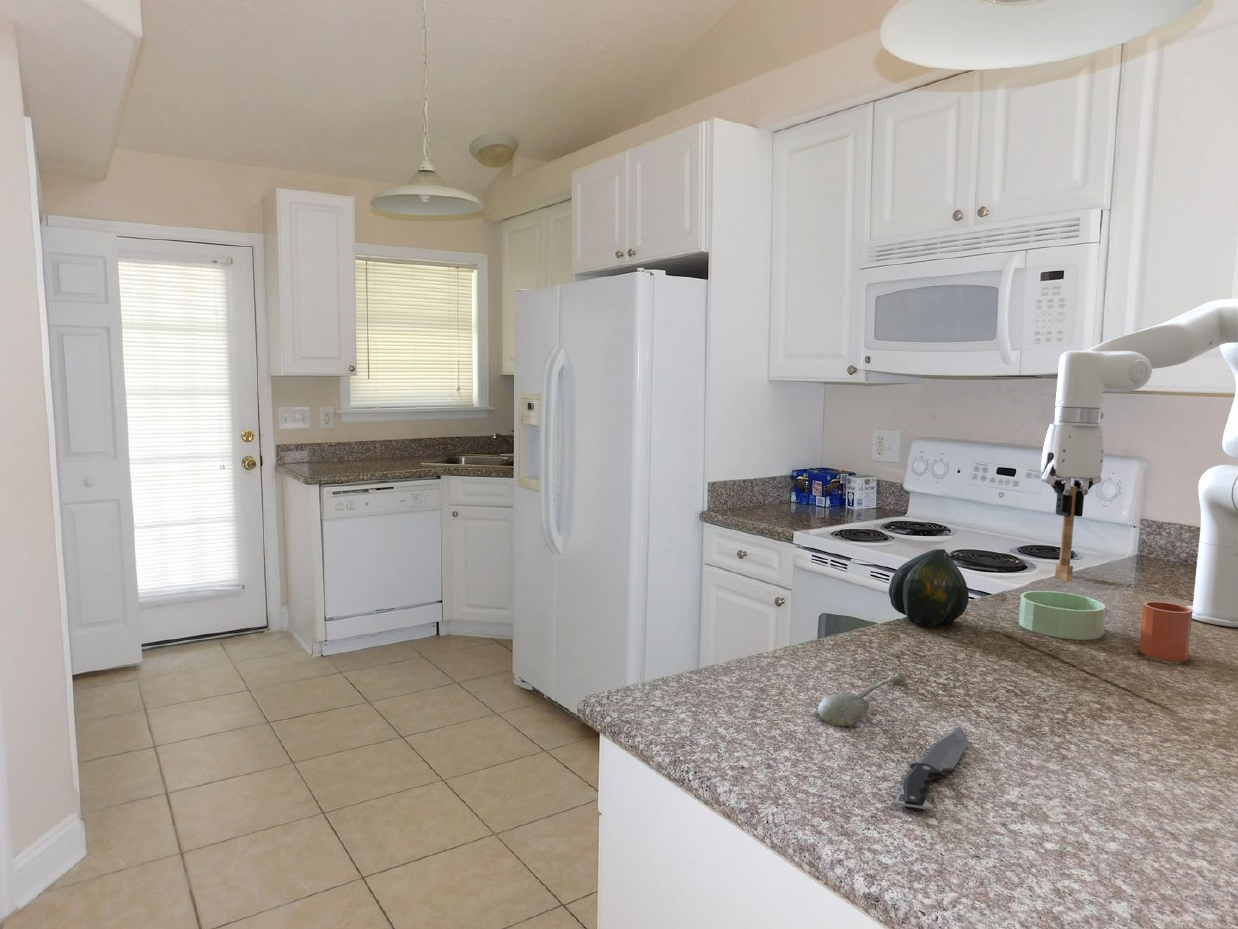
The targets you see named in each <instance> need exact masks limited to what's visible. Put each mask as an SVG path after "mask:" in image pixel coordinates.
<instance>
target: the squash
mask: <svg viewBox="0 0 1238 929" xmlns="http://www.w3.org/2000/svg"><path fill="white" fill-rule="evenodd" d="M888 596H889V599H890V605H891V606H892V607H893V609H894V610H895V611H897V612H898V613H899V614H902V615H904V616H906V618H907V619H908V621H909V622H910V623H912V624H913V625H915V626H920V625H923V624H924V623H925V624H926V625H928V626H937V625H939V624H941V623H944V624H947V623H952V622H954V621H955V620H957V619H958V618H960V617H961V616H962V615H963V614H964V613H965V611H966V609H967V607H968V604H969V600H970V594H969V588H968V586H967V582H966V579H965V577H964V575H963V574H962V571H961V570H960V568H958V566H957V565H956V563H955V562H954V560H953V559H952V558H951V556H950V554H949V553H948V552H947V551H946V549H945V548H937V549H931V550H929V551H926V552H924V553H921V554H919V555H918V556H915V557H914V558H911V559H910V560H908V561H906V562H904V563H903V564H902V565H901V566H899V567H898V568H896V570H895V572H894V573H893V575H892V577H891V580H890V583H889V587H888Z"/></svg>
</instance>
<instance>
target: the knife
mask: <svg viewBox="0 0 1238 929" xmlns="http://www.w3.org/2000/svg"><path fill="white" fill-rule="evenodd" d="M967 746H968V738H967V735H966V733H965V731H964V730H963V728H962V727H961V725H959V726H957V727H955V728H954V729H952V730H951V731H950V732H948V733H947V734H945V735H944V736H942V737H940V738H939V739H937V740H936V741H935V742H933V743H932V745H930V747H929V748H928V749H927V750H926V751H925V753H924V754H923V756H921V758H919V759H918V761H917V762H912V763H911V764H910V765H909V767H910V769H911V771H910V772H909V773H908V775H907V776H906V778H904V782H903V786H902V790H900V791H899V792H898V793H897V795H896V797H895V799H894V806H900V807H904V808H905V810H911V811H919V810H921V809H923V810H930V811H932V810H933V809H934V806H935V805H933V804H931V803H930V802H928V799H927V797H926V795H927V794H929V793H930V789H929V788H928V787H930V786H931V785H932V784H933V783H932V781H944V780H948V779H949V778H948V775H947V773H945V772H944V771H953V769H954V767H955V766H956V765H957V763H958V761H959V760H960V758H961V756H962V755H963V753H964V752H965V750H966V748H967ZM901 797H903V800H902V801H901V800H900V799H901Z"/></svg>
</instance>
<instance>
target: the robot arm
mask: <svg viewBox="0 0 1238 929" xmlns="http://www.w3.org/2000/svg"><path fill="white" fill-rule="evenodd" d="M1218 347H1219V348H1220V349H1219V350H1220V353H1221V355H1222V357H1223V360H1224V361H1225V362H1226V363H1227V365H1228V366H1229V368H1230V370H1231V372H1232V375H1233V377H1234V381H1235V394H1234V397H1233V401H1232V404H1231V408H1230V411H1229V415H1228V418H1227V422H1226V424H1225V427H1224V431H1223V435H1222V440H1221V445H1222V447H1221V448H1222V450H1223V452H1224V453H1225V454H1226V455H1228V456H1229V457H1232V458H1234V459H1238V297H1235V298H1223V299H1222V298H1221V299H1215V300H1211V301H1208V302H1205V303H1203V304H1201V305H1199V306H1197V307H1195V308H1194V307H1193V309H1190V310H1188V311H1186V312H1184V313H1182V314H1180V315H1178V316H1175V317H1174V318H1171V319H1169V320H1166V321H1164V322H1162V323H1160V324H1156V325H1153V326H1150V327H1146V328H1143V329H1140V330H1137V331H1134V332H1131V333H1128V334H1124V335H1120V336H1118V337H1115V338H1111V339H1109V340H1105V341H1102V342H1101V343H1098V344H1096V345H1093V346H1092V347H1089V348H1088V349H1086V350H1083V349H1082V350H1081V349H1079V350H1078V349H1077V350H1076V349H1075V350H1067V351H1064V352H1062V353H1061V354H1060V356H1059V359H1058V360H1059V361H1058V371H1057V381H1056V391H1055V392H1056V393H1055V404H1054V406H1055V407H1054V416H1053V423H1050V424H1049V426H1048V429H1047V432H1046V435H1045V439H1044V443H1043V448H1042V455H1041V462H1040V472H1041V474H1042V478H1041V481H1042V482H1043V483H1045V484H1048V485H1050V486H1051V488H1052V489H1053V493H1054V494H1056V502H1055V503H1056V504H1055V515H1057V516H1061V517H1063V516H1066V517H1070V516H1071V510H1072V498H1073V497H1072V495H1069V494H1070V488H1071V486H1077V491H1076V502H1075V514H1074V517H1083V514H1084V513H1083V512H1084V503H1085V502H1084V501H1085V496H1087V495H1088V493H1089V490H1091V488H1092V487H1093V486H1095V485H1097V484H1100V483H1101V482H1102V472H1103V468H1104V454H1105V453H1104V452H1105V451H1104V448H1105V446H1104V445H1105V444H1104V443H1105V442H1104V433H1103V432H1104V431H1103V426H1102V425H1101V420H1102V419H1103V418H1104V416H1105V415H1104V413H1103V412H1102V407H1103V396H1104V392H1117V393H1118V392H1120V393H1121V392H1122V393H1125V392H1126V393H1127V392H1133V391H1136V390H1139V389H1141V388H1142V387H1144V386H1145V385H1146V384H1147V383H1148V382H1149V380H1150V379H1151V377H1152V375H1153V374H1152V373H1153V370H1154V369H1155V370H1156V369H1163V368H1168V367H1173V366H1177V365H1182V364H1184V363H1187V362H1189V361H1191V360H1192V359H1193V360H1194V359H1196V358H1197V357H1199V356H1201V355H1203V354H1205V353H1207V352H1209V351H1212V350H1214V349H1216V348H1218ZM1197 492H1198V493H1197V494H1198V499H1199V510H1200V530H1199V531H1200V532H1199V539H1198V540H1199V541H1198V549H1197V550H1198V551H1197V558H1196V559H1197V560H1196V570H1195V581H1194V590H1193V591H1194V592H1193V600H1192V601H1193V602H1192V605H1186V606H1185V607H1188V608H1190V609H1192V620H1195V621H1198V622H1201V623H1206V624H1210V625H1215V626H1222V627H1229V628H1238V464H1219V465H1215V466H1212V467H1210V468H1208V469H1206V471H1204V472H1203V473H1202V475H1201V476H1200V478H1199V480H1198V488H1197Z"/></svg>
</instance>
